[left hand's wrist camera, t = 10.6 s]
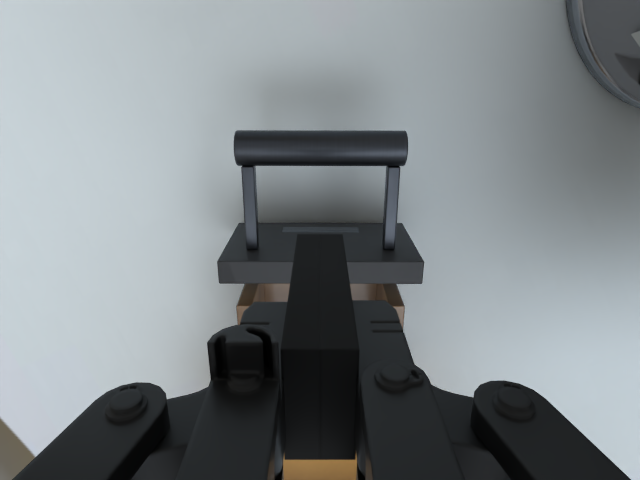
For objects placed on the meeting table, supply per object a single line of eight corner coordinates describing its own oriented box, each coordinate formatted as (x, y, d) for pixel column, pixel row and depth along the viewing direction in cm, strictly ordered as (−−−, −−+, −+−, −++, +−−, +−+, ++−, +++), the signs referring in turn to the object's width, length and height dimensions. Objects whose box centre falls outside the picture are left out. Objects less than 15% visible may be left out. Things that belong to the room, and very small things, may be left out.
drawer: (232, 122, 25) (205, 135, 19) (409, 122, 25) (435, 135, 19) (253, 446, 33) (239, 523, 27) (386, 446, 33) (400, 523, 27)
